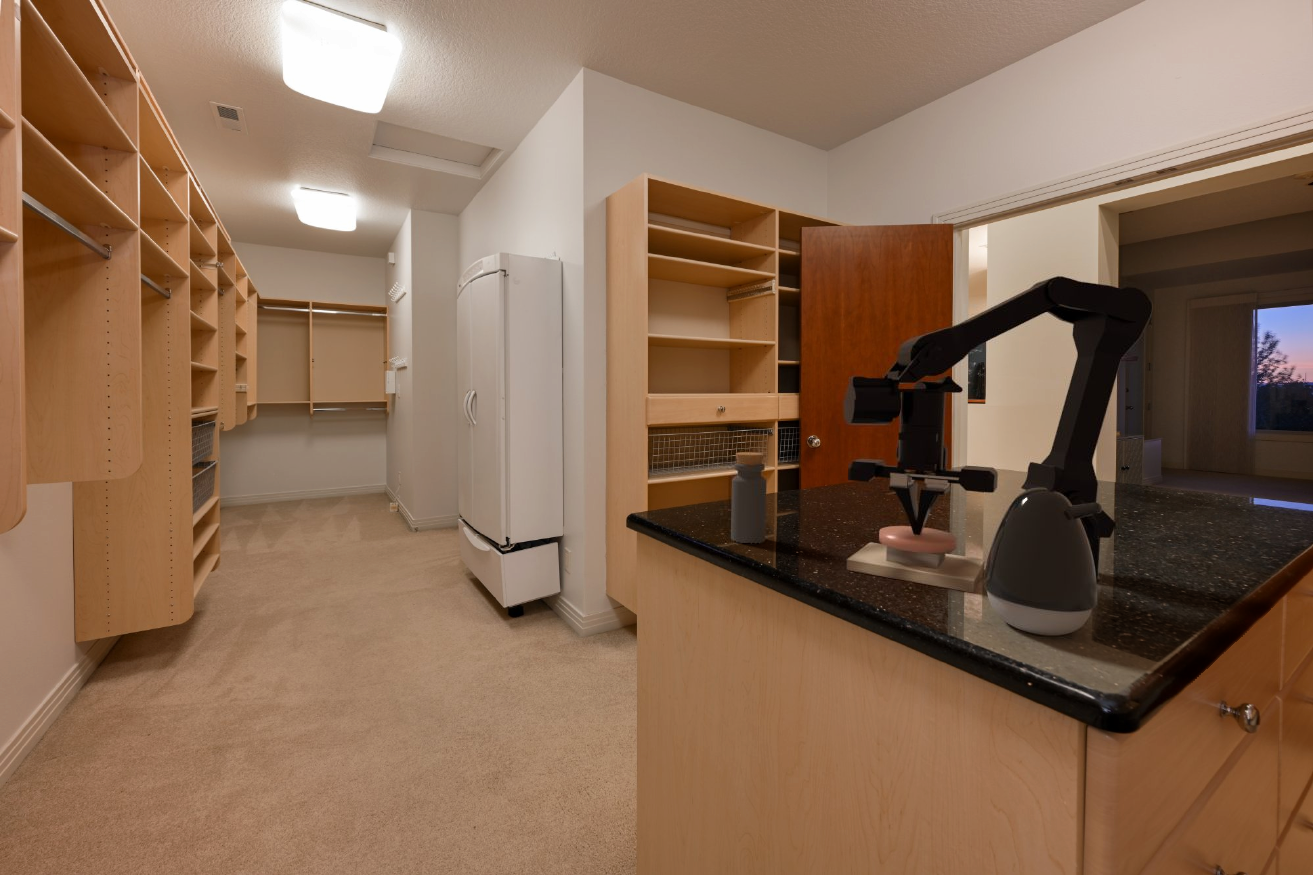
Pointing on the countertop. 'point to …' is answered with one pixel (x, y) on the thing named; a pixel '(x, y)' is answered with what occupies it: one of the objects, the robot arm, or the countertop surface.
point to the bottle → (748, 499)
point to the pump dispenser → (1042, 564)
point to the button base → (918, 566)
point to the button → (917, 539)
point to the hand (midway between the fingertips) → (917, 534)
